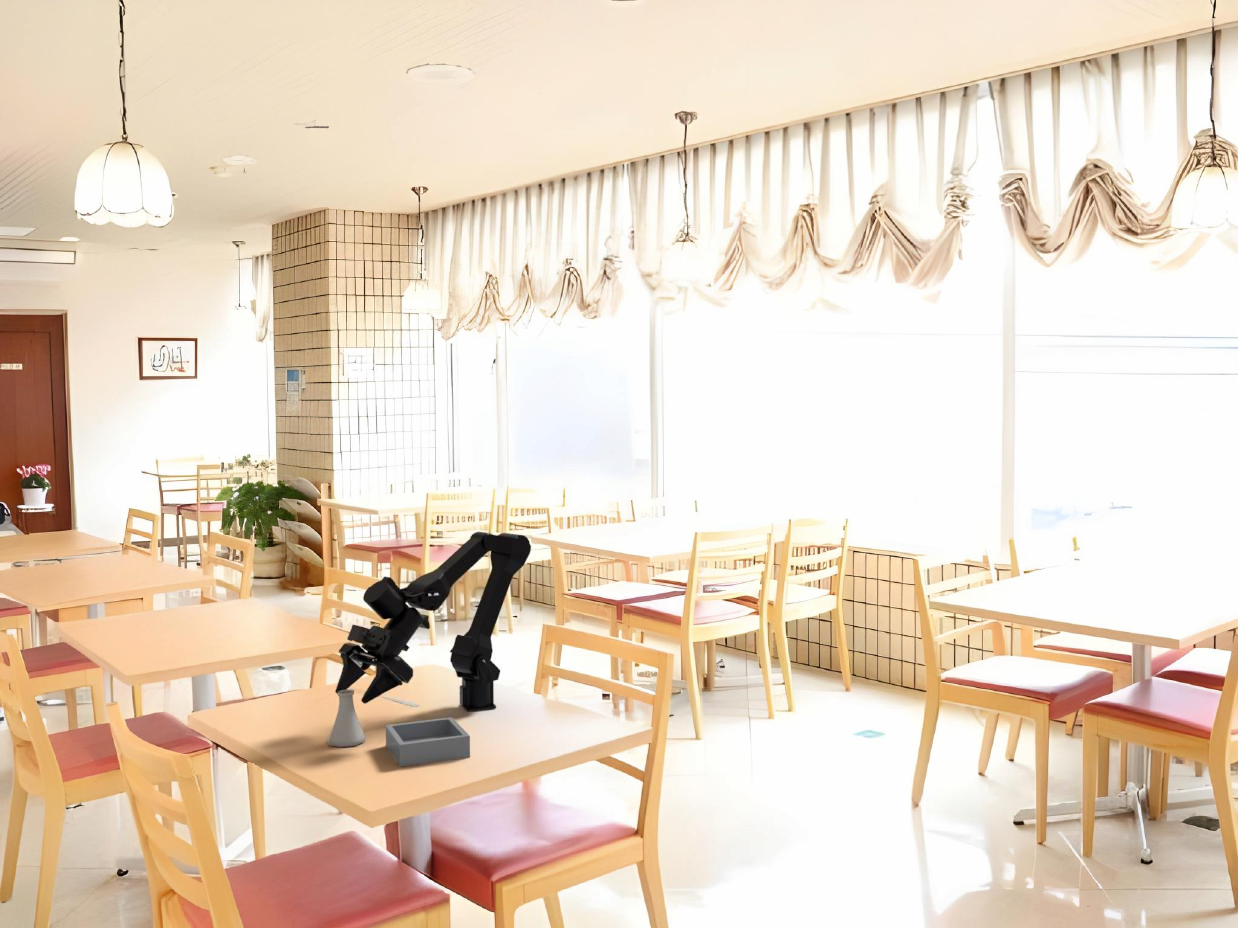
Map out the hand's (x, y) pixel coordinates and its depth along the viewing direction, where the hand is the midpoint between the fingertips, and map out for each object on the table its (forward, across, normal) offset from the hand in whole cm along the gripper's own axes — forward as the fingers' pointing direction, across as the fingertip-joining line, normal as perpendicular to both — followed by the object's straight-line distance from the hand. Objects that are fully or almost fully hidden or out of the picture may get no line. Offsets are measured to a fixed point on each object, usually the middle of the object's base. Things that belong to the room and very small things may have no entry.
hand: (349, 697), depth 204 cm
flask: (+7, 0, +6) cm, 9 cm away
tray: (+1, +16, +11) cm, 19 cm away
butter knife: (-9, -24, +22) cm, 34 cm away
